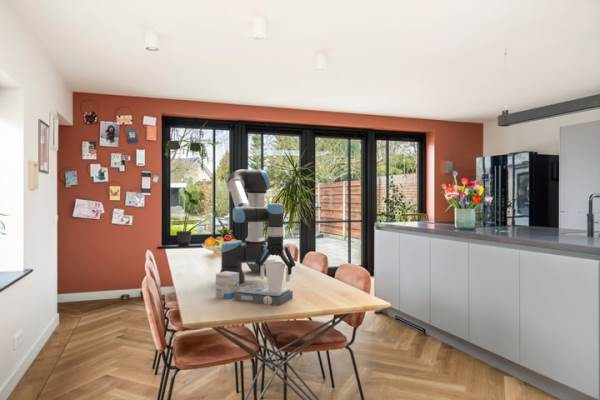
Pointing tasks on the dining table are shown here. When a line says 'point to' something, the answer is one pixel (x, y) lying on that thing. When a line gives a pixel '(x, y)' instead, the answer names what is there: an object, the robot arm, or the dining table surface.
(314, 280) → the dining table surface
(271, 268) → the foam cup
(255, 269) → the bowl
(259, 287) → the plate
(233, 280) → the ink box
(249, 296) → the scale
